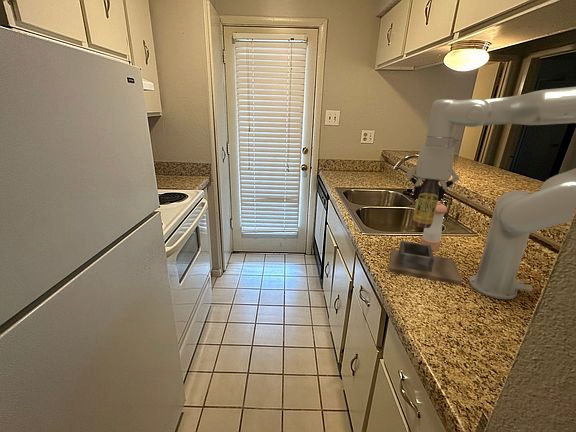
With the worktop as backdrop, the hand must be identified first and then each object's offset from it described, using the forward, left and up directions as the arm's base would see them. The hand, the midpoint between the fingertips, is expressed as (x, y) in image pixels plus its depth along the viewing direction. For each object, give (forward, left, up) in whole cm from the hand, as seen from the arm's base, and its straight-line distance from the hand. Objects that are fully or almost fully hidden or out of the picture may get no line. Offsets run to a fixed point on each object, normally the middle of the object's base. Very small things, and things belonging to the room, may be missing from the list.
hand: (427, 198), depth 95 cm
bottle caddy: (-3, -1, -26) cm, 26 cm away
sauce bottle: (0, 0, -10) cm, 10 cm away
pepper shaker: (-7, -21, -26) cm, 34 cm away
